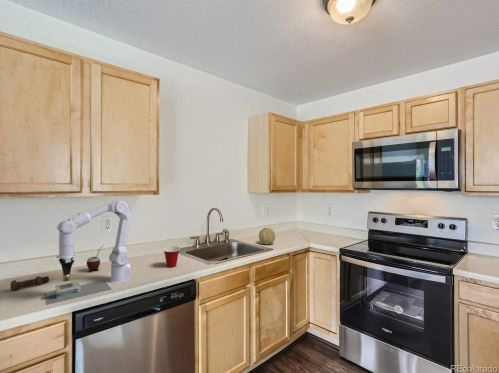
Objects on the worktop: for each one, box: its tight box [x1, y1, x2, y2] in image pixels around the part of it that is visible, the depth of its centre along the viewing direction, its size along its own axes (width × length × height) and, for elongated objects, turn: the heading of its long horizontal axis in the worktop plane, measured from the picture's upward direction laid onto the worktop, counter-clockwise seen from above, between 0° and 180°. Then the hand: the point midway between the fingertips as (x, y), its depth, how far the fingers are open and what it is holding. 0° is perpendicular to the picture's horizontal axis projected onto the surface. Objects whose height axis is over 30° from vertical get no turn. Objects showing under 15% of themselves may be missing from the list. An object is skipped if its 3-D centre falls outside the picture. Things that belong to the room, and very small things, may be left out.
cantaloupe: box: [258, 227, 276, 245], centre depth 232 cm, size 15×15×15 cm
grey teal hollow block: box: [45, 280, 81, 299], centre depth 123 cm, size 13×8×4 cm, turn 131°
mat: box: [44, 280, 112, 306], centre depth 128 cm, size 26×16×1 cm, turn 131°
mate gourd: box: [86, 244, 105, 273], centre depth 159 cm, size 8×8×15 cm
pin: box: [62, 259, 71, 282], centre depth 124 cm, size 3×3×10 cm
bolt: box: [10, 275, 50, 292], centre depth 134 cm, size 6×5×15 cm
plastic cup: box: [162, 245, 181, 268], centre depth 168 cm, size 11×11×12 cm
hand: (66, 273), depth 124 cm, fingers closed on pin, 3 cm apart
